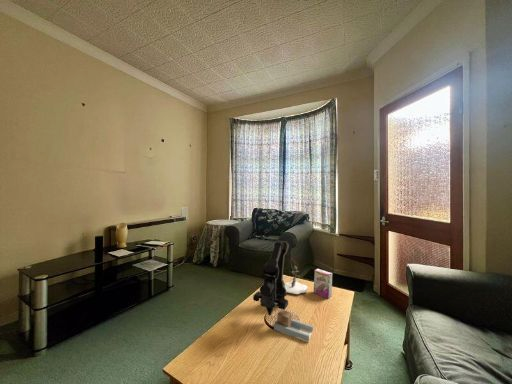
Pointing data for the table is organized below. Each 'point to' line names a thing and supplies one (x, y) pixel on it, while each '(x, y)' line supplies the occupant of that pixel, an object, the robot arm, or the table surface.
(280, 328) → the chute
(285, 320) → the walnut block
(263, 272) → the robot arm
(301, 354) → the table surface
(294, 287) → the figurine
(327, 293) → the candy bar box
